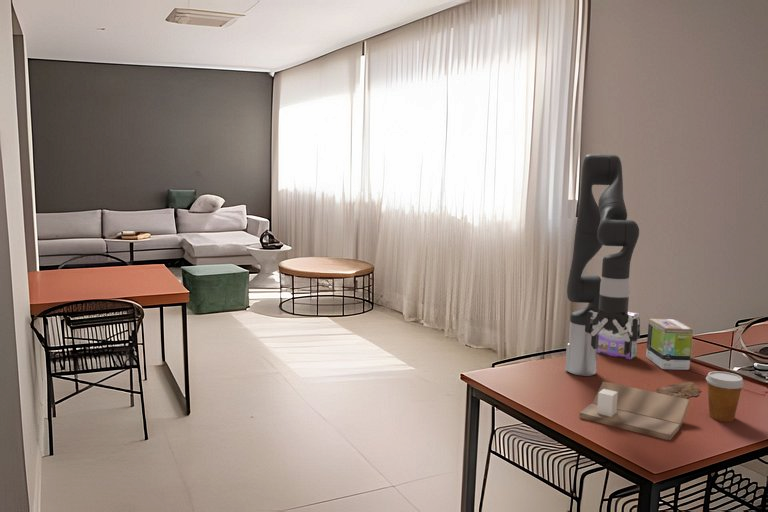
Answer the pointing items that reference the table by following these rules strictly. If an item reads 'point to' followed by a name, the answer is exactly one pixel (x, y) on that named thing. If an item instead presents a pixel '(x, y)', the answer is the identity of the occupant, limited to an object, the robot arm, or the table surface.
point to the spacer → (607, 402)
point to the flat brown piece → (680, 390)
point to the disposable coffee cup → (723, 394)
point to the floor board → (633, 422)
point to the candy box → (616, 341)
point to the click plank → (648, 403)
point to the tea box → (669, 344)
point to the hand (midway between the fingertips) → (610, 351)
